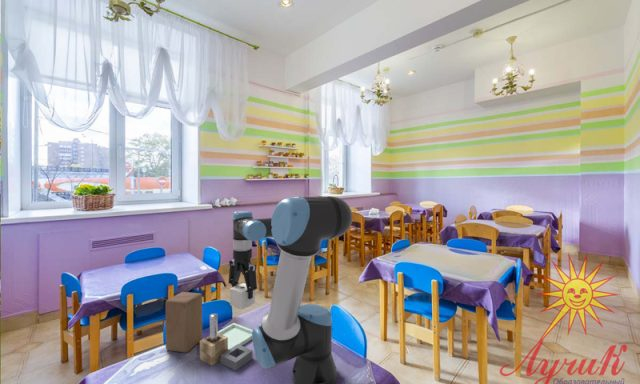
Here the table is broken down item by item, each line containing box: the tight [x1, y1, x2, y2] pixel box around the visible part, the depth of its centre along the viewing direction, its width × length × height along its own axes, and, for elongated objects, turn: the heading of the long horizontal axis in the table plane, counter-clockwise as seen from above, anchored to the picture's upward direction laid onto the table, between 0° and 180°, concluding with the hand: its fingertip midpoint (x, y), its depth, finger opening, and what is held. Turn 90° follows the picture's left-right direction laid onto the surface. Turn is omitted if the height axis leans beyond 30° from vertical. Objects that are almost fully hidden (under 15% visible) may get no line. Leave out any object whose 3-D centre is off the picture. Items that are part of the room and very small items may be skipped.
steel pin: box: [209, 313, 219, 343], centre depth 101 cm, size 3×3×16 cm
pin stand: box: [220, 344, 253, 372], centre depth 99 cm, size 8×8×3 cm
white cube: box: [229, 282, 256, 311], centre depth 111 cm, size 7×7×7 cm
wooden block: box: [165, 291, 203, 353], centre depth 109 cm, size 10×10×20 cm
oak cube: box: [199, 333, 228, 366], centre depth 101 cm, size 7×7×7 cm
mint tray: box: [218, 322, 253, 350], centre depth 113 cm, size 15×15×2 cm
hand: (242, 303), depth 111 cm, fingers closed on white cube, 7 cm apart
